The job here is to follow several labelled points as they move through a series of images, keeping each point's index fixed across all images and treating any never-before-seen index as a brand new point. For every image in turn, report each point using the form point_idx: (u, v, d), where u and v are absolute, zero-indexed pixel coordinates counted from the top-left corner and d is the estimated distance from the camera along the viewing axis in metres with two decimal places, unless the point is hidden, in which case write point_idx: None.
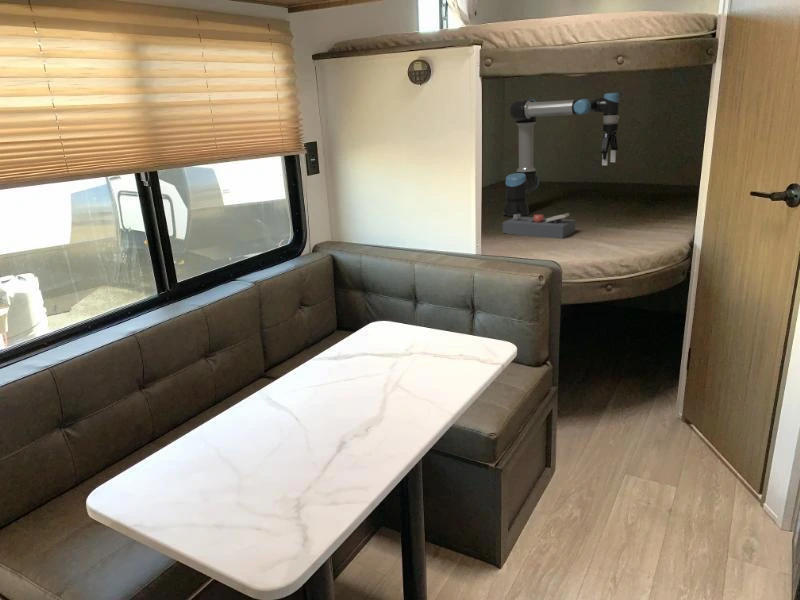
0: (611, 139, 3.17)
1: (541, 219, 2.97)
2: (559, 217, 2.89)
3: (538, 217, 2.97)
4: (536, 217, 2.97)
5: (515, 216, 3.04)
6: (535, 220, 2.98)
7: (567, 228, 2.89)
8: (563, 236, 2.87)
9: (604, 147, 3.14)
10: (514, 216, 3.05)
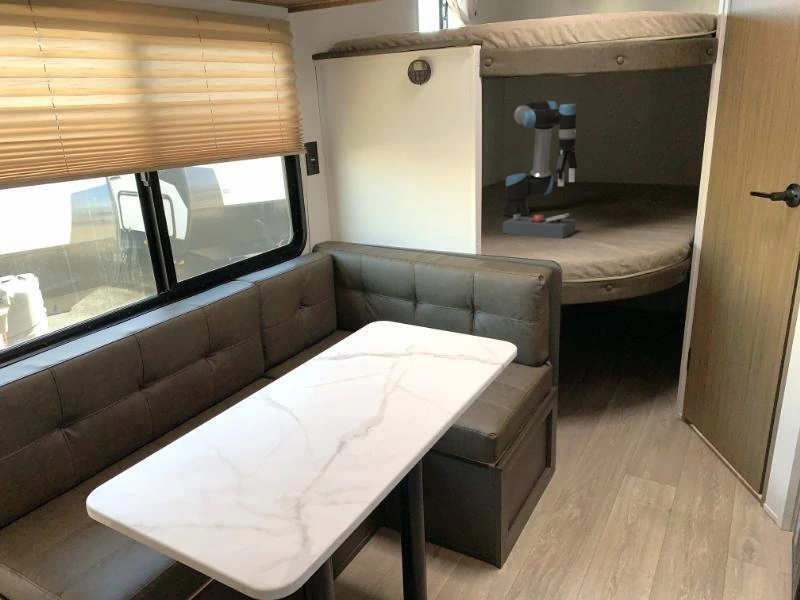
0: (568, 156, 2.78)
1: (541, 219, 2.97)
2: (559, 217, 2.89)
3: (538, 217, 2.97)
4: (536, 217, 2.97)
5: (515, 216, 3.04)
6: (535, 220, 2.98)
7: (567, 228, 2.89)
8: (563, 236, 2.87)
9: (559, 166, 2.75)
10: (514, 216, 3.05)
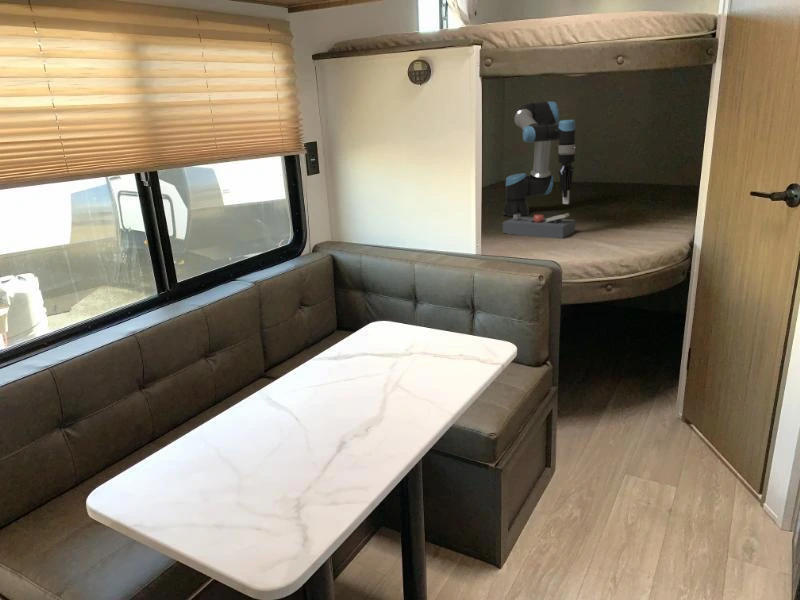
0: (568, 172, 2.82)
1: (541, 219, 2.97)
2: (559, 217, 2.89)
3: (538, 217, 2.97)
4: (536, 217, 2.97)
5: (515, 216, 3.04)
6: (535, 220, 2.98)
7: (567, 228, 2.89)
8: (563, 236, 2.87)
9: (563, 185, 2.82)
10: (514, 216, 3.05)
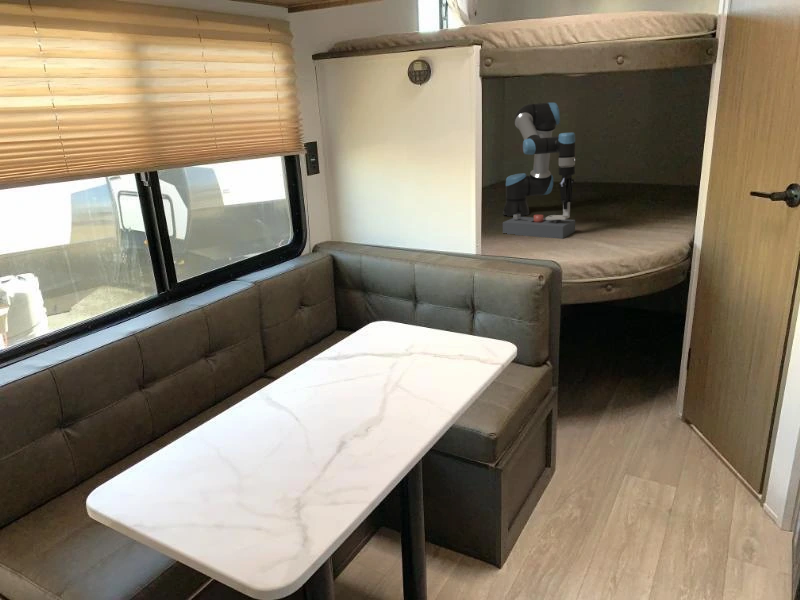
0: (569, 184, 2.83)
1: (541, 219, 2.97)
2: (559, 218, 2.90)
3: (538, 217, 2.97)
4: (536, 217, 2.97)
5: (515, 216, 3.04)
6: (535, 220, 2.98)
7: (567, 228, 2.89)
8: (563, 236, 2.87)
9: (563, 197, 2.83)
10: (514, 216, 3.05)
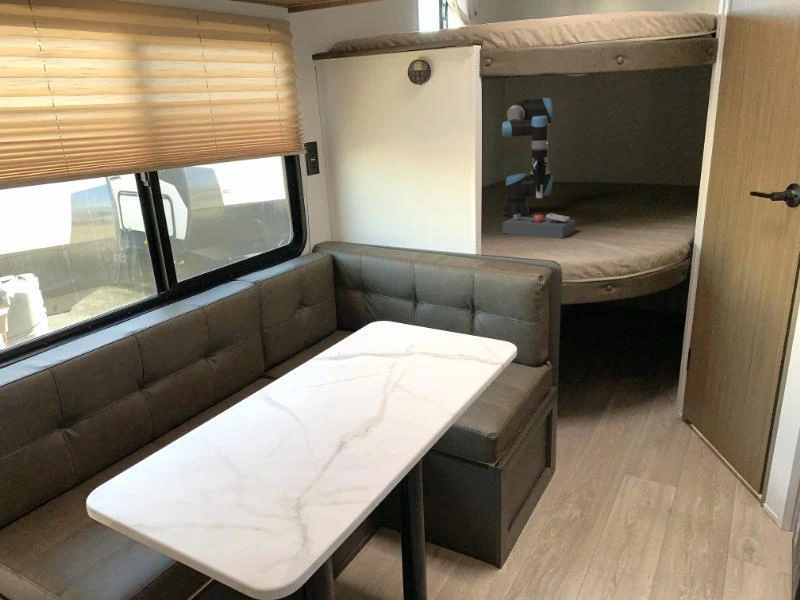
0: (541, 167, 2.89)
1: (541, 219, 2.97)
2: (559, 219, 2.90)
3: (538, 217, 2.97)
4: (536, 217, 2.97)
5: (515, 216, 3.04)
6: (535, 220, 2.98)
7: (567, 228, 2.89)
8: (563, 236, 2.87)
9: (536, 180, 2.89)
10: (514, 216, 3.05)
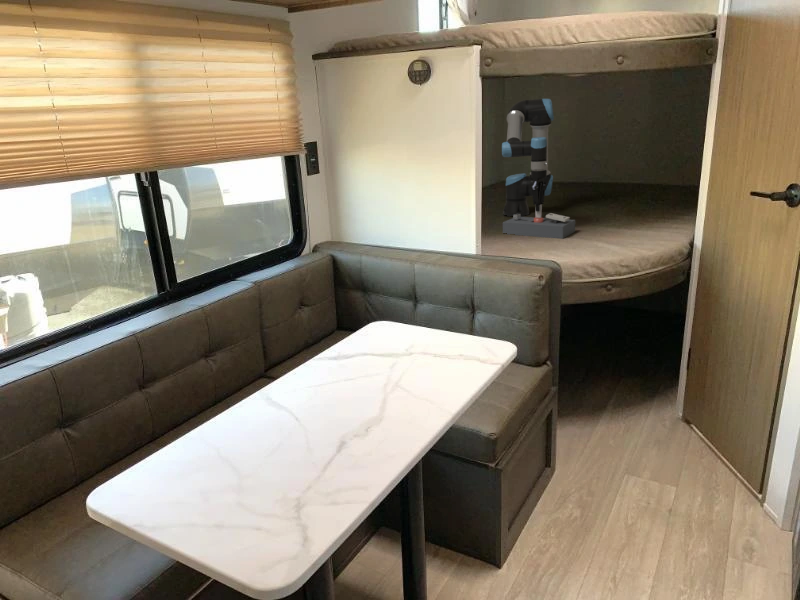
0: (540, 187, 2.92)
1: (541, 222, 2.98)
2: (559, 219, 2.90)
3: (538, 220, 2.97)
4: (536, 220, 2.98)
5: (515, 216, 3.04)
6: None
7: (567, 228, 2.89)
8: (563, 236, 2.87)
9: (535, 200, 2.93)
10: (514, 216, 3.05)
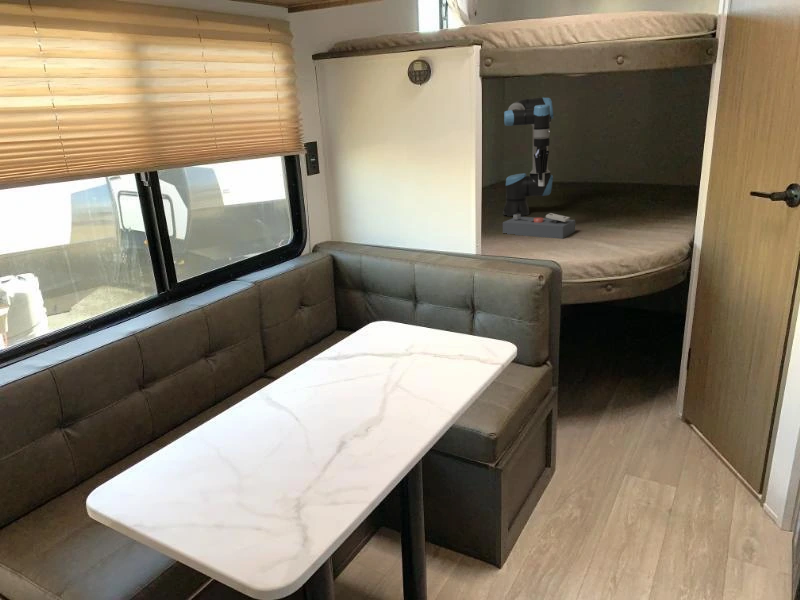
0: (543, 156, 2.93)
1: (541, 222, 2.98)
2: (559, 219, 2.90)
3: (538, 220, 2.97)
4: (536, 220, 2.98)
5: (515, 216, 3.04)
6: None
7: (567, 228, 2.89)
8: (563, 236, 2.87)
9: (538, 168, 2.93)
10: (514, 216, 3.05)
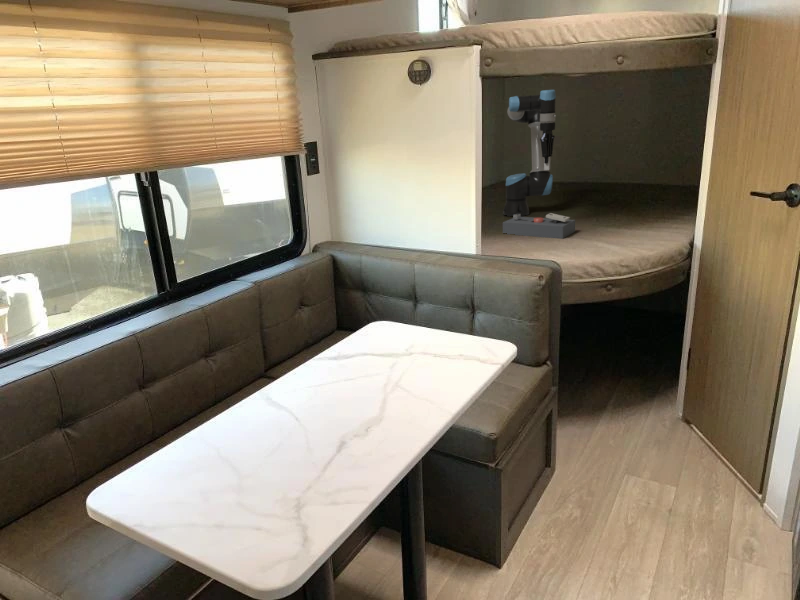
0: (549, 140, 3.00)
1: (541, 222, 2.98)
2: (559, 219, 2.90)
3: (538, 220, 2.97)
4: (536, 220, 2.98)
5: (515, 216, 3.04)
6: None
7: (567, 228, 2.89)
8: (563, 236, 2.87)
9: (544, 152, 3.00)
10: (514, 216, 3.05)
